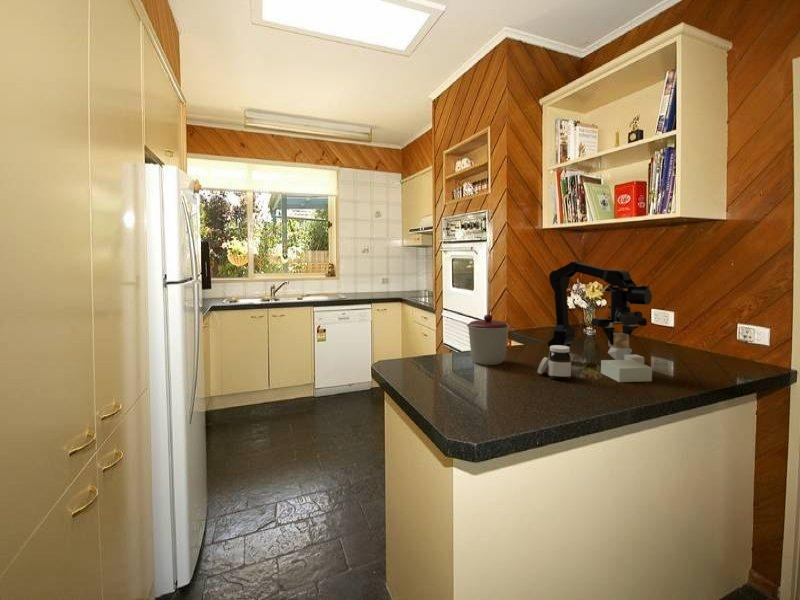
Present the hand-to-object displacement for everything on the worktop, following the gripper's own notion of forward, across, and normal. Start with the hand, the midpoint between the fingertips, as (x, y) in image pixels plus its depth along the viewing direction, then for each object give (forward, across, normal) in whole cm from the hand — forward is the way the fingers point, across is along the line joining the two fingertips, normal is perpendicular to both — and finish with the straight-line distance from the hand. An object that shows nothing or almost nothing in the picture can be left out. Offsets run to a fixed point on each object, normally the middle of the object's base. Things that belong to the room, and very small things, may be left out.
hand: (618, 344), depth 151 cm
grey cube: (+12, +12, +8) cm, 19 cm away
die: (+12, +14, +22) cm, 28 cm away
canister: (+11, -44, +23) cm, 51 cm away
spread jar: (+12, -25, 0) cm, 28 cm away
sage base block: (+12, +1, -3) cm, 12 cm away
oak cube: (+1, 0, 0) cm, 1 cm away
